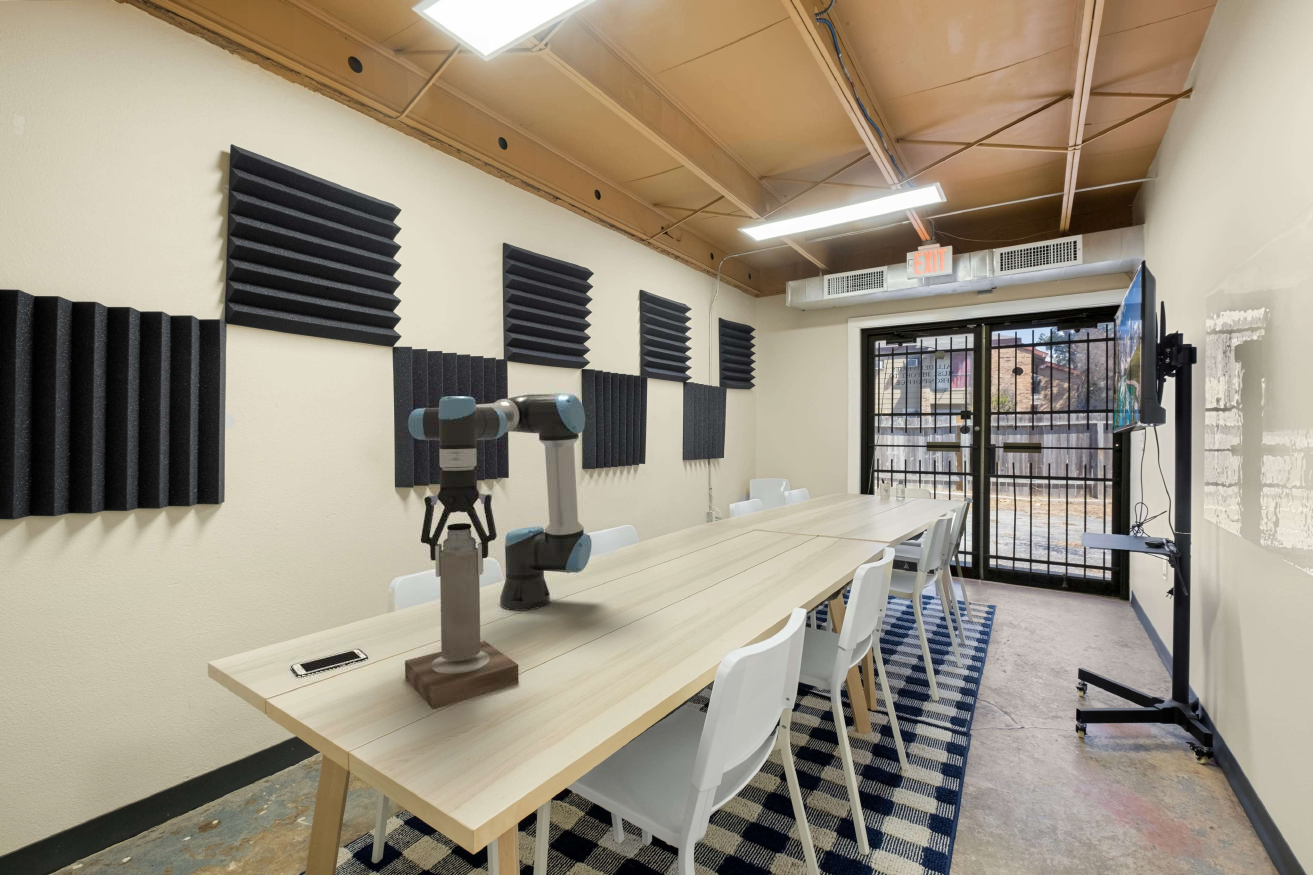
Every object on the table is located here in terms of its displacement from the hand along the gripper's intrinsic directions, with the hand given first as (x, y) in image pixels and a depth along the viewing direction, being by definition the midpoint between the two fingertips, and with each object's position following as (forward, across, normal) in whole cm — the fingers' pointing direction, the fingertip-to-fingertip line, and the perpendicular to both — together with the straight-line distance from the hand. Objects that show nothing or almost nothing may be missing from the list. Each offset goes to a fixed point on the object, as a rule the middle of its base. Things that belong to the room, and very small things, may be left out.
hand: (460, 574), depth 125 cm
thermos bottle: (+17, 0, 0) cm, 17 cm away
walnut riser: (+23, 0, 0) cm, 23 cm away
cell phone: (+24, -32, +15) cm, 42 cm away
